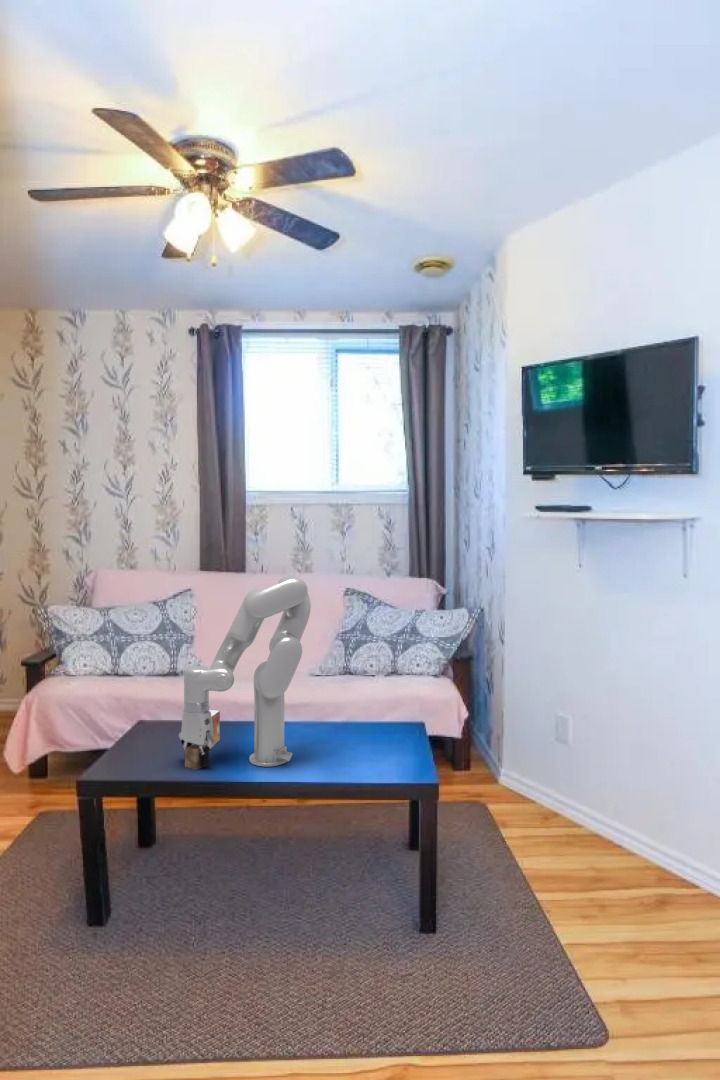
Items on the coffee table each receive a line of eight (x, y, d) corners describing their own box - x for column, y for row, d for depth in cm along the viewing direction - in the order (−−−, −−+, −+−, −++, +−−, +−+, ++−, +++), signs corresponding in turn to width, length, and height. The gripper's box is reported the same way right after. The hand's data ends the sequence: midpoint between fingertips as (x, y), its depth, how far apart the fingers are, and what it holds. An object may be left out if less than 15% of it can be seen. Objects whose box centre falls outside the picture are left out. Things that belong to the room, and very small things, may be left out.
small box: (211, 747, 226) (211, 716, 226) (195, 746, 227) (196, 715, 227) (220, 740, 234) (220, 710, 234) (205, 739, 235) (205, 709, 235)
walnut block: (208, 765, 210) (208, 746, 210) (195, 770, 206) (195, 750, 206) (197, 762, 213) (197, 743, 213) (184, 766, 209) (184, 747, 208)
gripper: (225, 708, 207) (224, 766, 207) (187, 699, 217) (187, 754, 217) (206, 714, 201) (206, 773, 201) (168, 704, 211) (168, 761, 211)
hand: (196, 763), depth 209 cm, fingers open, 6 cm apart
